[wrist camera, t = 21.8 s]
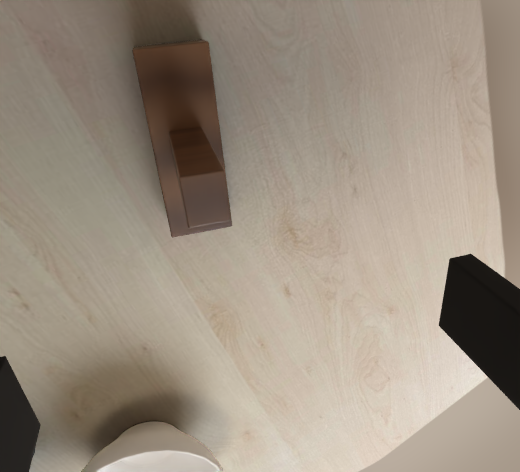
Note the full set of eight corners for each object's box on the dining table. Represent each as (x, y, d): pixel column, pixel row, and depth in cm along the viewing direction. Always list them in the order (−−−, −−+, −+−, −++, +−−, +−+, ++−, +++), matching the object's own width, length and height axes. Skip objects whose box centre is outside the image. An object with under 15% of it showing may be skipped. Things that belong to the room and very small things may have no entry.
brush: (133, 46, 30) (127, 64, 18) (202, 39, 31) (237, 52, 19) (169, 219, 37) (181, 313, 25) (225, 209, 38) (262, 295, 26)
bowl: (143, 371, 44) (143, 428, 38) (243, 427, 52) (256, 482, 46) (42, 460, 46) (27, 527, 40) (153, 502, 54) (154, 563, 48)
